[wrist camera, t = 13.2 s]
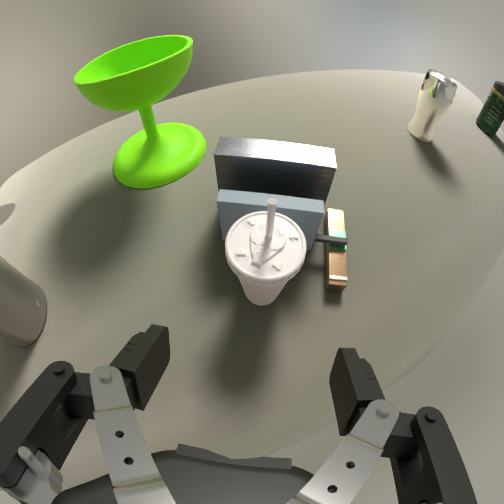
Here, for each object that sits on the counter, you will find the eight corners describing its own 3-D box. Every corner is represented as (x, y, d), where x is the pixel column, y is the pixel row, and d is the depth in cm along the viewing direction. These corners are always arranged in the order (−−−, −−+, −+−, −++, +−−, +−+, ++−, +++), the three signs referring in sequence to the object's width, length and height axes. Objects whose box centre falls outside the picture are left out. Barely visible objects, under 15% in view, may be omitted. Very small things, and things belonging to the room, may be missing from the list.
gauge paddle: (222, 240, 31) (216, 201, 25) (225, 229, 32) (219, 189, 26) (343, 254, 31) (363, 218, 24) (342, 243, 31) (361, 206, 25)
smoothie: (299, 274, 30) (328, 189, 18) (279, 326, 28) (302, 267, 15) (245, 255, 32) (243, 163, 19) (222, 304, 29) (200, 230, 16)
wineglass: (183, 115, 46) (169, 30, 30) (224, 157, 40) (215, 46, 24) (105, 151, 42) (72, 68, 26) (127, 206, 35) (76, 98, 20)
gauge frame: (207, 276, 30) (191, 224, 21) (226, 196, 36) (220, 136, 27) (341, 291, 29) (376, 246, 21) (338, 210, 35) (360, 153, 26)
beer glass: (406, 119, 48) (426, 65, 35) (432, 133, 47) (456, 81, 34) (403, 133, 45) (427, 73, 32) (432, 148, 44) (460, 91, 31)
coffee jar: (492, 140, 51) (517, 96, 35) (473, 123, 54) (495, 78, 37) (495, 133, 54) (517, 92, 38) (477, 117, 57) (497, 76, 41)
